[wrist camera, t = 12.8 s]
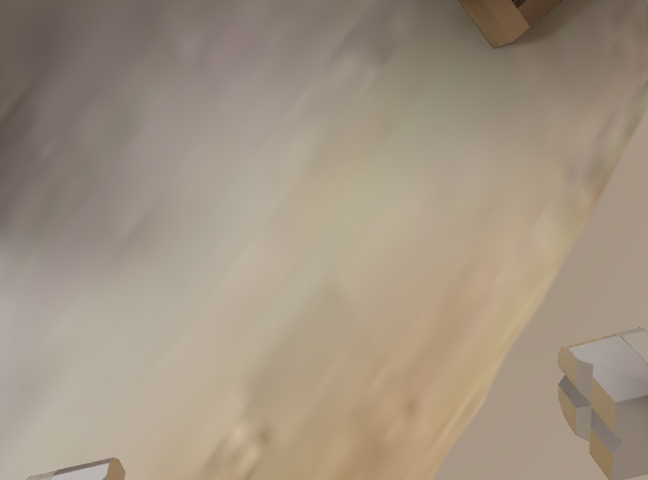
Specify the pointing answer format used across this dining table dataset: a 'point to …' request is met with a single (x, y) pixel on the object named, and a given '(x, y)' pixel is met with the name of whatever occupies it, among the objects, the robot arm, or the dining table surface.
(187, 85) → the dining table surface
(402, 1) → the dining table surface
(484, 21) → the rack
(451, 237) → the dining table surface
